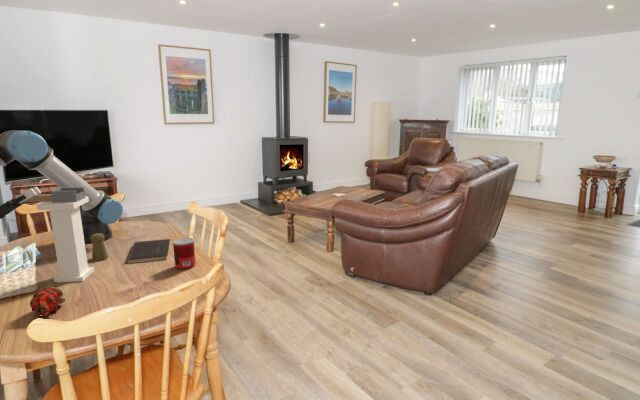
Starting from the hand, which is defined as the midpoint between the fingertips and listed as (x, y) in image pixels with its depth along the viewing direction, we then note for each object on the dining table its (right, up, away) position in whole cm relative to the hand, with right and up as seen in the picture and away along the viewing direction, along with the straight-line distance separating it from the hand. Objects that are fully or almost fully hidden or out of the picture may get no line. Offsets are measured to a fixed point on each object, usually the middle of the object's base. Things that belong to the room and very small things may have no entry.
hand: (35, 190), depth 141 cm
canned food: (+48, -31, +19) cm, 60 cm away
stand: (+9, -33, +9) cm, 35 cm away
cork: (+8, -29, +27) cm, 40 cm away
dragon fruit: (+17, -39, -18) cm, 46 cm away
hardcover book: (+26, -28, +35) cm, 51 cm away
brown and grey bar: (+4, -4, +1) cm, 5 cm away
